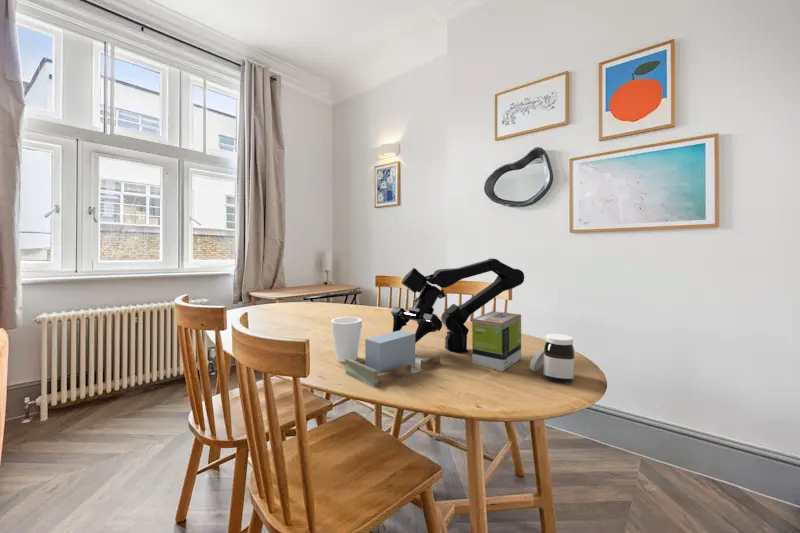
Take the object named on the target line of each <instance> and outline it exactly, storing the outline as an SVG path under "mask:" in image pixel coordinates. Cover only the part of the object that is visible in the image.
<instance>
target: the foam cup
mask: <svg viewBox="0 0 800 533" xmlns="http://www.w3.org/2000/svg"><path fill="white" fill-rule="evenodd" d="M362 320H363V319H361V318H360V317H356V316H340V317H335V318H333V319H331V320H330V324H331V325H330V327H331V330H332V331H331V332H332V338H333V345H334V346H333V347H334V350H335V351H334V352H335V359H336V361H337V362H339V363H346V359H348V358H349V359H351V360H354V361H357V359H358V357H359V356H358V355H359V347H360V340H361V332H362V331H361V330H362V327H363V321H362Z"/></svg>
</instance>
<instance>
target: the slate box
mask: <svg viewBox="0 0 800 533" xmlns="http://www.w3.org/2000/svg"><path fill="white" fill-rule="evenodd" d="M415 333H416V332H415ZM415 333H414V332H410V331H405V330H402V329H401V330H399V331H395V332H393V331H392V332H388V333H384V334H379V335H375V336H371V337H368V338H365V340H364V341H365V343H364V344H365V345H364V346H365V351H364V354H365V355H364V356H365V358H364V360H365V366H368V367H370V368H372V369H375V370H377V374H380V373H384V372H387V371H390V370H393V369H396V368H399V367H402V366H405V365H408V364H409V365H411V368H414V367H415V355H416V343H415Z"/></svg>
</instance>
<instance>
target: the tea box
mask: <svg viewBox="0 0 800 533" xmlns="http://www.w3.org/2000/svg"><path fill="white" fill-rule="evenodd" d="M471 325H472V326H471V328H472V330H471V331H472V334H471V339H472V344H471V345H472V350H471V351H472V360H471V361H472V364H474V365H479V366H481V367H482V366H483V367H486V368H487V367H488V368H489V369H490V368H491V369H493V371H497V372H503V371H505V370H506V369H508V368H510V367H511V366H513V365H514V364H515V363H517V362H518V361H520V360H521V359H522V314H520V313H510V312H503V311H502V312H501V311H494V310H493V311H489V312H487V313H485V314H482V315H479V316H476V317H474V318H472V322H471Z"/></svg>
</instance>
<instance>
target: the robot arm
mask: <svg viewBox="0 0 800 533" xmlns="http://www.w3.org/2000/svg"><path fill="white" fill-rule="evenodd" d="M489 272H493V273H494V274H496V275H497V276H496V278H495V280H494V281H493V282H492V283H491V284H489V285H488V286H486V287H485V288H484V289H482V290H480V291H479V292H478V293H476V294H475V295H474V296H472V297H471V298H469V299H468V300H467V301H465V302H463V303H461V304H460V305H457V304H455V303H452V304H451V305H450V306H448V308H445V309H444V312H443V313H442V314H441V318H439V317H438V315H437V314H435V313H434V310H435V309H434V305H435V303H436V302H437V300H438V299H441V300H442V299H444V298H445V297H447V296H446V293H445V290H444V288H449V287H450V286H453V285H455V284H456V283H458V282H460V281H462V280H464V279H467V278H471V277H475V276H477V275H478V276H479V275H481V274H485V273H489ZM524 281H525V273H524V272H523V271H522V270H521V269H518V268H513V267H511V266H509V265H507V264H506V263H503V262H501V261H500V260H498V259H497V258H493V257H492V258H488V259H486V260H482V261H479V262H475V263H472V264H471V263H470V264H468V265H467V264H466V265H464V266H460V267H456V268H440V269H437V270H435V271H434V272H433V273H432V274H429V275H424V274H422V273H421V272H420V271H419V270H418V269H416V268H415V267H413V268H412V269H411V270H410V271H409V272H408V273H406V274H405V275H404V277H403V278H402V281H401V283H400V284H402V285H403V286H404V287H406V288H407V289H408V290H410V291H411V292H412V293H414V294H416V293H420V294H419V295H418V297H414V299H413V300H414V303H413V305H412V307H408V309H407V311H408V312H409V313H408V312H407V311H406V310H405V308H403V307H398V306H395V307H392V309H391V311H390V313H391V315H392V317H393V325H392V332H395V331H399V330H402V329H403V327H405V326H408V323H409V322H410V321H415V322H416V323H417V327H416V331H415V344H416V343H417V342H419V341H420V340H421V339H423V337H425V336H426V335H427V334H429V333H436V332H440V331H441V329H442V327H443V325H444V326H445V327H446V330H448V331H446V336H445V344H444V349H446V350H447V351H448V352H452V353H455V354H457V353H459V354H460V353H468V352H469V351H470V350H469V349H468V348H467V345H468V344H467V343H468V333H469V331H470V330H469V328H468V327H467V326H466V325H465V323H466V322H467V320H468V319H469V318H470V316H471V315H472V314H474V313H475V312H476V311H478V310H479V309H481V308H482V307H483V306H485V305H486V304H488V303H490V302H491V301H492V300H494V299H495V298H496V297H497V296H499V295H500V294H502V293H503V292H506V291H509V290H513V289H515V288H517V287H519V286H521V285H522V284H524ZM437 286H438V287H437ZM439 287H440V288H442V289H440V288H439ZM440 319H441V320H440Z"/></svg>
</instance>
